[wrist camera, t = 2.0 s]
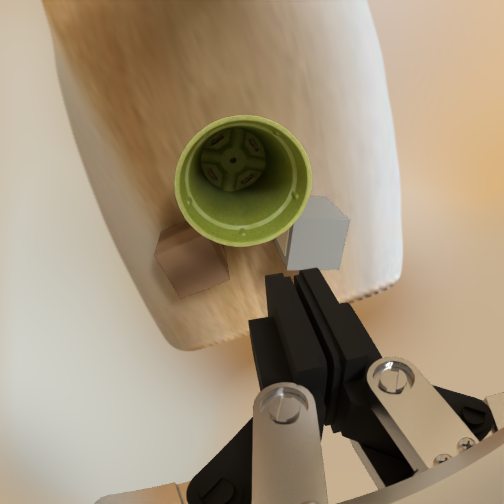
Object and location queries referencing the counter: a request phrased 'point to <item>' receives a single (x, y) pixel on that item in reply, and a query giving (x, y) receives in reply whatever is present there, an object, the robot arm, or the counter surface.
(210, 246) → the walnut block
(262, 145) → the plant pot
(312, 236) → the slate block
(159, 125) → the counter surface
